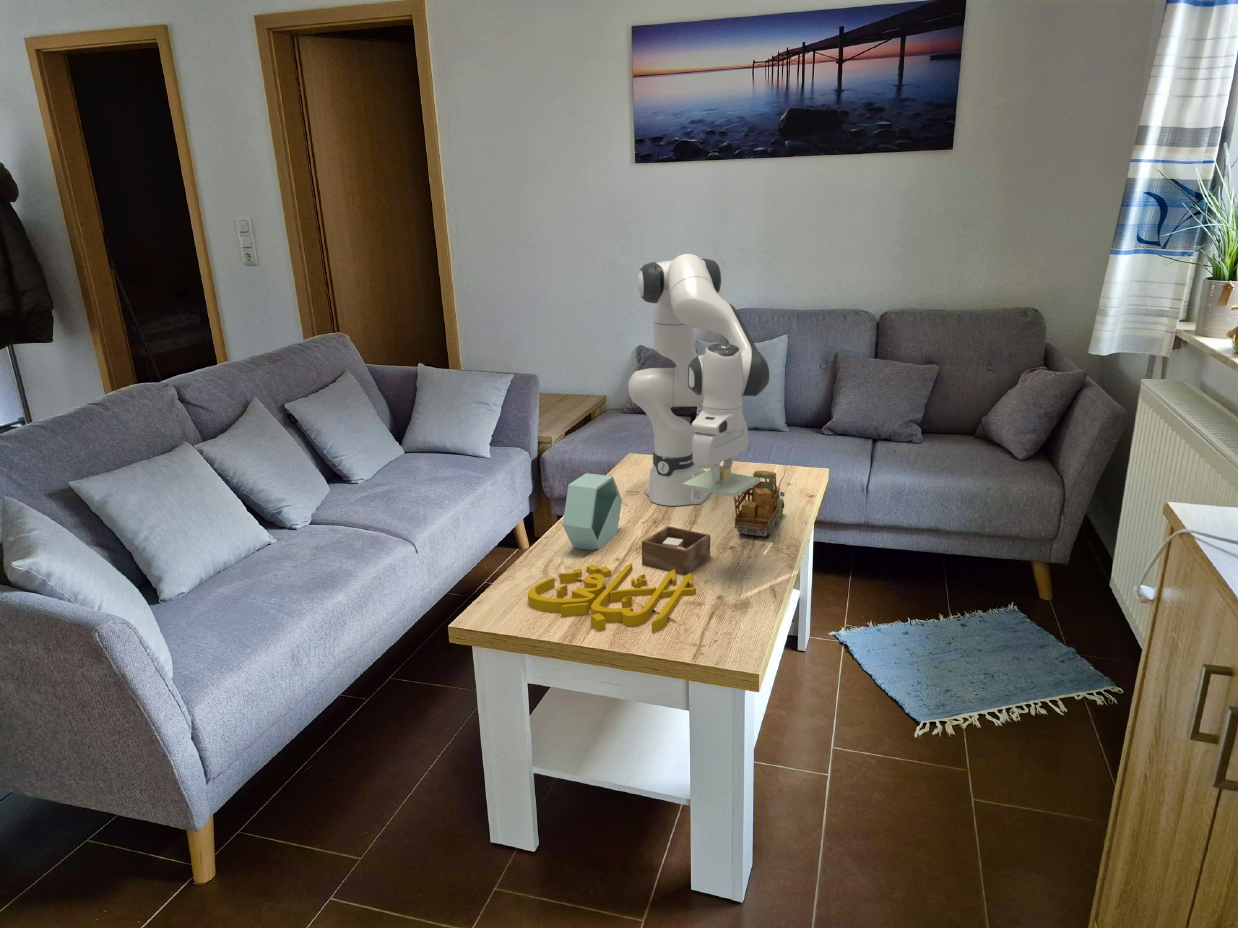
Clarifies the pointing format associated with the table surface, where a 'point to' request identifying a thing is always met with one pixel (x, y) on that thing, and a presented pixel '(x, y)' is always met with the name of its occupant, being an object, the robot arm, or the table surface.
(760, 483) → the toy truck
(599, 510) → the planter
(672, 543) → the cream cube
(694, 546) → the walnut box
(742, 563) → the table surface
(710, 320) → the robot arm
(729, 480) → the lid
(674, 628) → the table surface
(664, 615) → the decorative art
